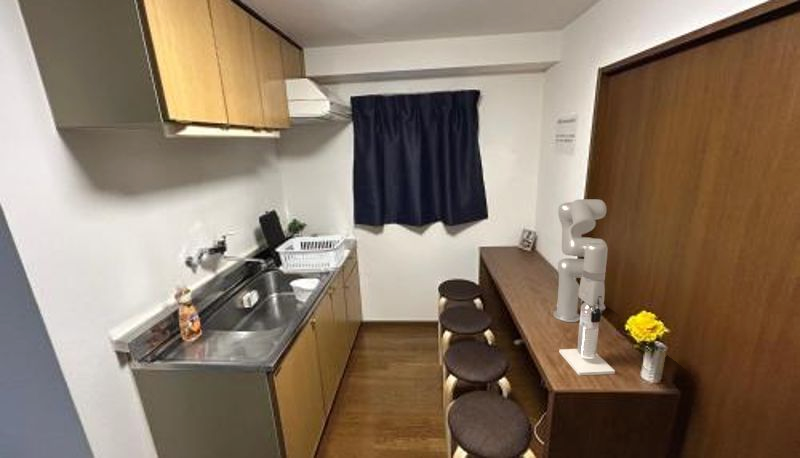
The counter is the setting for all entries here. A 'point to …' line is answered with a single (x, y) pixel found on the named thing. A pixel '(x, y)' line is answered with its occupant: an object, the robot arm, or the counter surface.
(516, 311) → the counter surface
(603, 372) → the board
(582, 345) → the water bottle
